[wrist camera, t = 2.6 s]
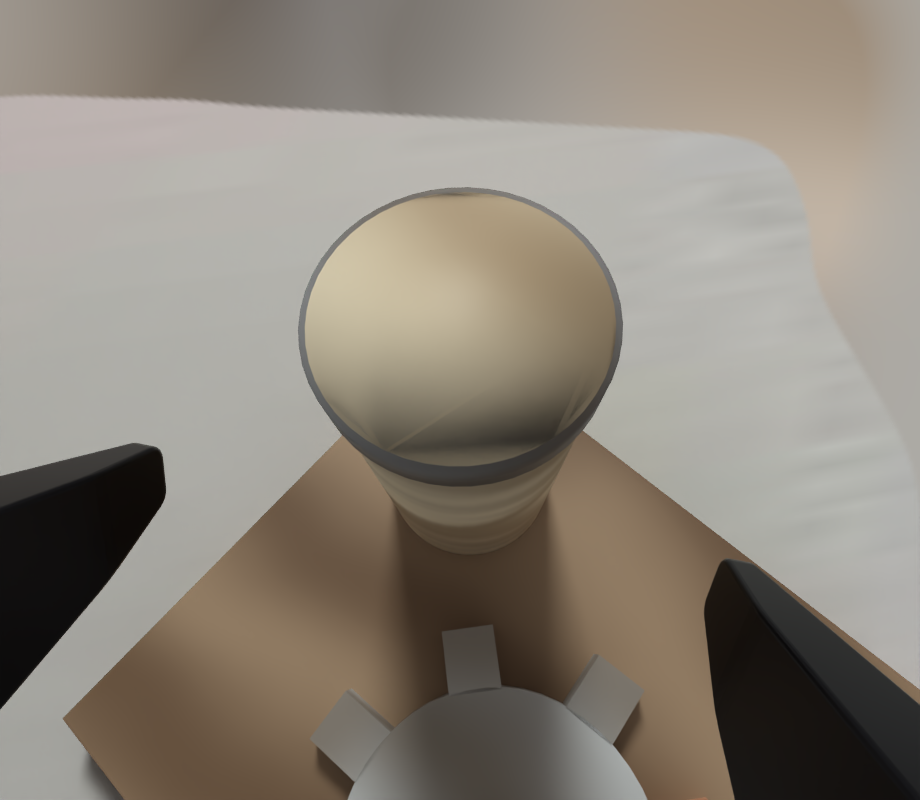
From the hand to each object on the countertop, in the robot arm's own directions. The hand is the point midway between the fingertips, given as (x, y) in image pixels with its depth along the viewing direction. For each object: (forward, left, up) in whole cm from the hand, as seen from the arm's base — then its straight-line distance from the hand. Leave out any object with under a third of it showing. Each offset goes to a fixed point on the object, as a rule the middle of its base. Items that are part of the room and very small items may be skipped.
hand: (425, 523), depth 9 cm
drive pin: (+3, +1, -9) cm, 9 cm away
